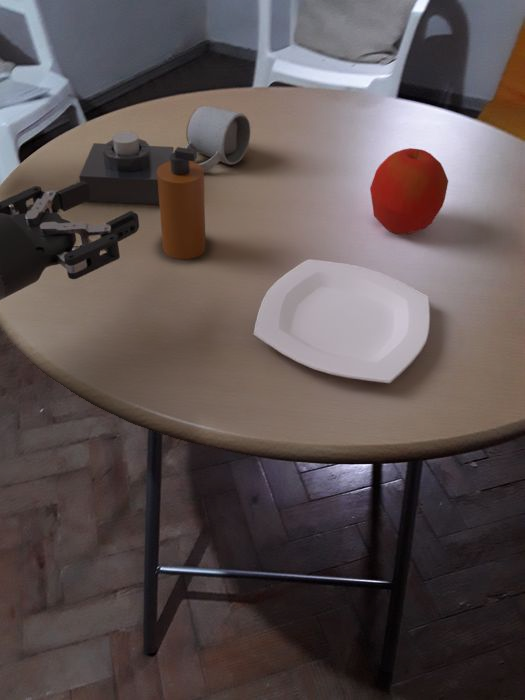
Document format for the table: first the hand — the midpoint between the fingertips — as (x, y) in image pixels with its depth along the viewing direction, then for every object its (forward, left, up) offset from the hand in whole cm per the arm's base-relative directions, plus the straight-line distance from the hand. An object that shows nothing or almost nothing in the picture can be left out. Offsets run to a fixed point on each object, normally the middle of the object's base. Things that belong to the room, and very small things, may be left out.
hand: (111, 204), depth 70 cm
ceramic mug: (+1, +33, -11) cm, 35 cm away
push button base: (-8, +21, -11) cm, 25 cm away
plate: (+28, 0, -11) cm, 30 cm away
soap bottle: (+5, +9, -11) cm, 15 cm away
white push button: (-8, +21, -5) cm, 23 cm away
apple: (+32, +24, -11) cm, 41 cm away
